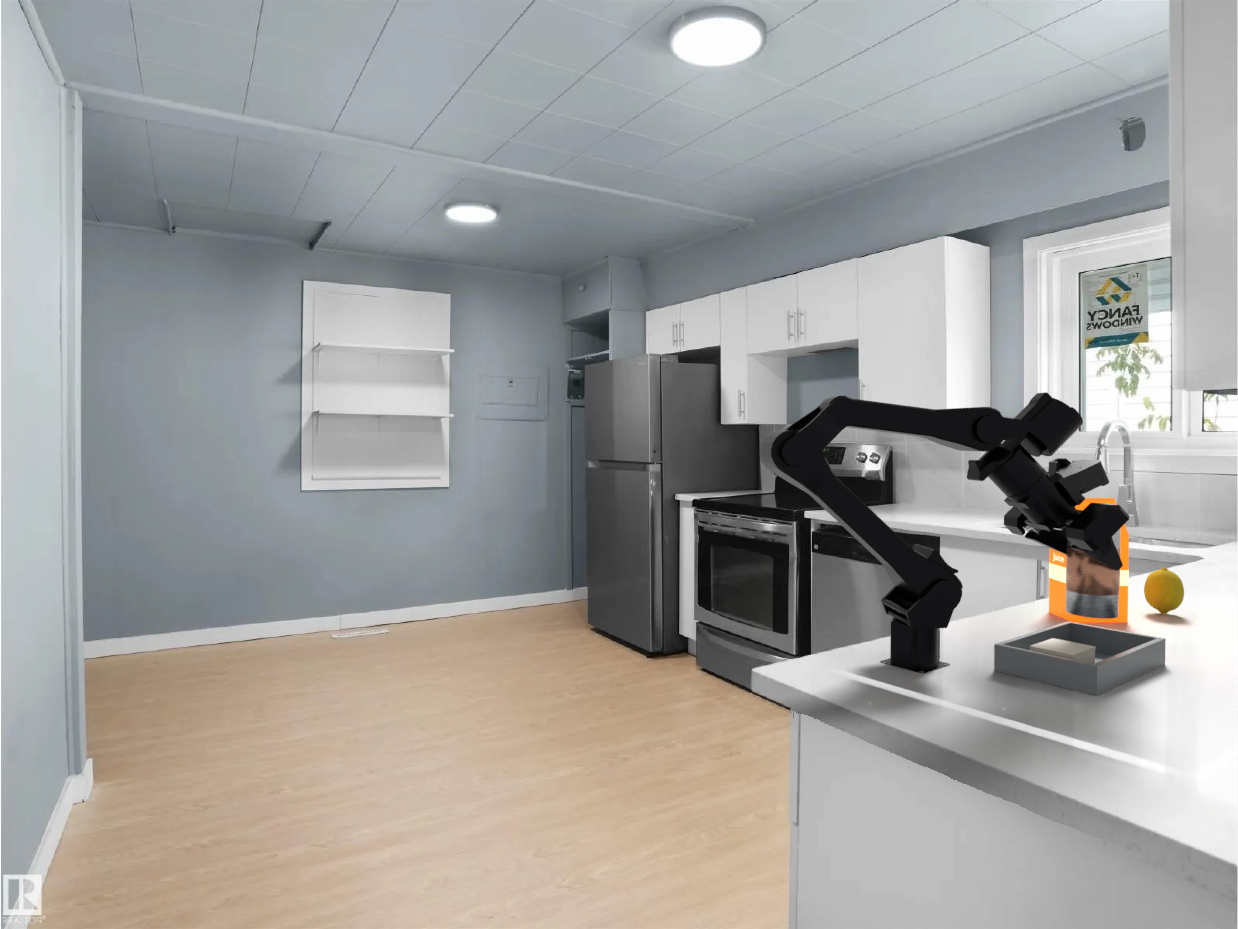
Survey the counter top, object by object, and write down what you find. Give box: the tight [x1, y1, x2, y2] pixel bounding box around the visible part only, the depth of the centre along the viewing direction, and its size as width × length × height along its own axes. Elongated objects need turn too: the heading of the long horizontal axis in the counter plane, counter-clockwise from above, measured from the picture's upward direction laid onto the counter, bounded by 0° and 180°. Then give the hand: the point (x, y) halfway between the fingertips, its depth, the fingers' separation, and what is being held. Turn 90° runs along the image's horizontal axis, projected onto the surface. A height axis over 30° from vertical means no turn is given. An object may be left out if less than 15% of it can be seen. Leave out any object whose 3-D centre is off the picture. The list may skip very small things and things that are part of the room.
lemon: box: [1143, 567, 1185, 615], centre depth 130 cm, size 6×6×8 cm
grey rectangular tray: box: [993, 620, 1167, 697], centre depth 98 cm, size 20×12×4 cm, turn 126°
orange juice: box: [1048, 497, 1130, 623], centre depth 128 cm, size 8×9×20 cm
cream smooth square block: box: [1030, 638, 1096, 664], centre depth 96 cm, size 6×5×4 cm
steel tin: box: [1066, 528, 1121, 619], centre depth 102 cm, size 6×6×13 cm
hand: (1102, 564), depth 102 cm, fingers closed on steel tin, 6 cm apart
